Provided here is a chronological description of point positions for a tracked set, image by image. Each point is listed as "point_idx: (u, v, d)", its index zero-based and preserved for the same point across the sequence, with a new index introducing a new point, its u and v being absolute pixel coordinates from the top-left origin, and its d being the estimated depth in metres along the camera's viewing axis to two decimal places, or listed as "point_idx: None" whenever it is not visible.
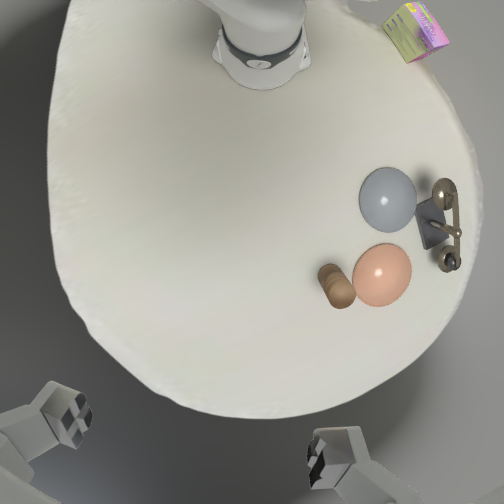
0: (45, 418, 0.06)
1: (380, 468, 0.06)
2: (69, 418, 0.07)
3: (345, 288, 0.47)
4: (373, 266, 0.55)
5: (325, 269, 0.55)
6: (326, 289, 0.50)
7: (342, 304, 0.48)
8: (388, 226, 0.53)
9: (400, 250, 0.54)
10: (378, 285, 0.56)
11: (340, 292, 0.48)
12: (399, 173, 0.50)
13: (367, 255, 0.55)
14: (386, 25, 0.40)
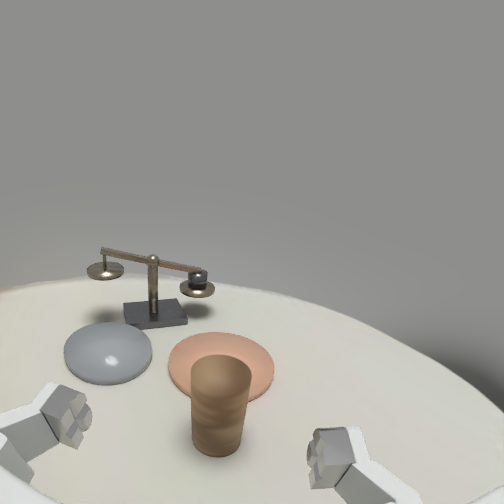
0: (45, 418, 0.06)
1: (380, 468, 0.06)
2: (69, 418, 0.07)
3: (204, 368, 0.22)
4: None
5: (195, 438, 0.23)
6: (214, 411, 0.20)
7: (241, 373, 0.22)
8: (140, 352, 0.35)
9: (181, 342, 0.38)
10: None
11: (212, 375, 0.21)
12: (78, 332, 0.35)
13: (180, 380, 0.31)
14: None
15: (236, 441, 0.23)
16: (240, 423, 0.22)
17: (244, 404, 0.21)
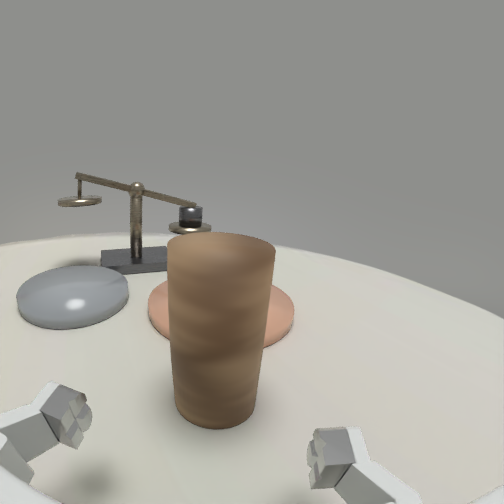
0: (45, 418, 0.06)
1: (380, 468, 0.06)
2: (69, 418, 0.07)
3: (191, 240, 0.13)
4: None
5: (178, 393, 0.14)
6: (209, 313, 0.12)
7: (256, 246, 0.14)
8: (112, 291, 0.26)
9: (167, 282, 0.30)
10: None
11: (205, 246, 0.13)
12: (41, 275, 0.26)
13: (162, 319, 0.22)
14: None
15: (249, 396, 0.14)
16: (257, 353, 0.13)
17: (264, 305, 0.13)
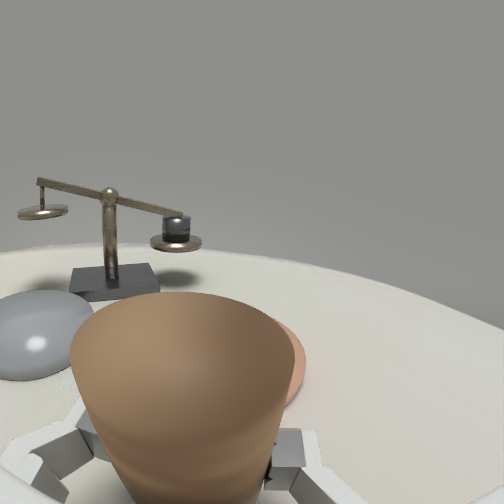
0: (81, 434, 0.06)
1: (332, 474, 0.06)
2: None
3: (124, 324, 0.06)
4: None
5: None
6: (158, 481, 0.04)
7: (254, 340, 0.06)
8: (73, 330, 0.19)
9: None
10: None
11: (144, 348, 0.05)
12: (0, 302, 0.19)
13: None
14: None
15: None
16: (254, 495, 0.06)
17: (268, 451, 0.06)
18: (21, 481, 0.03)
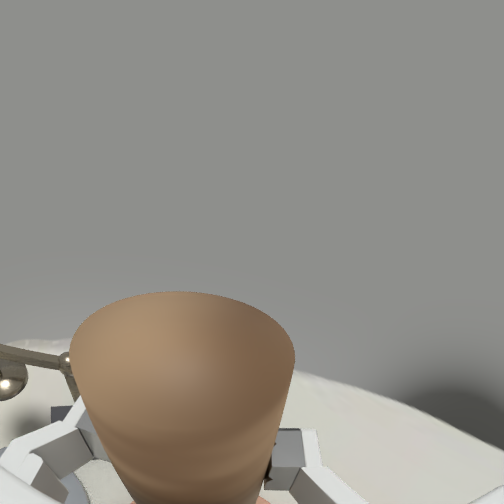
0: (81, 434, 0.06)
1: (333, 474, 0.06)
2: None
3: (124, 324, 0.06)
4: None
5: None
6: (158, 481, 0.04)
7: (254, 339, 0.06)
8: None
9: None
10: None
11: (144, 348, 0.05)
12: None
13: None
14: None
15: None
16: (254, 494, 0.06)
17: (268, 451, 0.06)
18: (21, 481, 0.03)
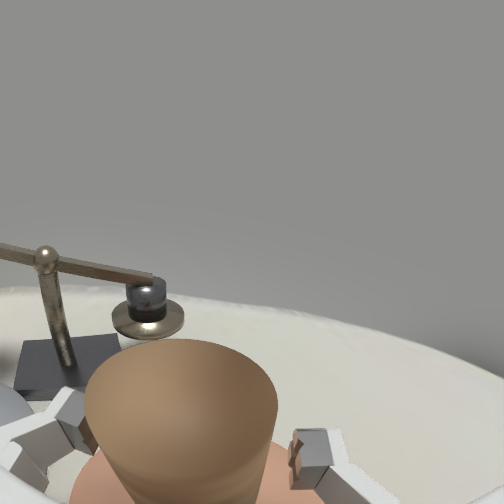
0: (60, 425, 0.06)
1: (359, 471, 0.06)
2: (86, 425, 0.07)
3: (128, 377, 0.07)
4: None
5: None
6: None
7: (243, 391, 0.07)
8: None
9: (102, 452, 0.12)
10: None
11: (147, 402, 0.06)
12: None
13: None
14: None
15: None
16: None
17: (257, 479, 0.06)
18: (21, 481, 0.03)
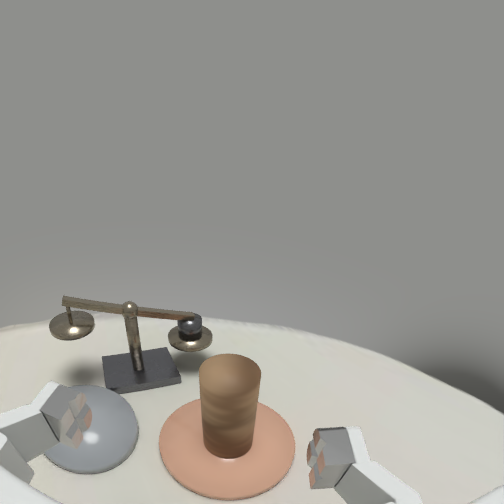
0: (45, 418, 0.06)
1: (380, 468, 0.06)
2: (69, 418, 0.07)
3: (212, 368, 0.22)
4: (201, 461, 0.21)
5: (207, 440, 0.22)
6: (225, 411, 0.20)
7: (250, 370, 0.22)
8: (123, 431, 0.23)
9: (173, 415, 0.27)
10: None
11: (221, 375, 0.21)
12: None
13: (176, 472, 0.20)
14: None
15: (248, 441, 0.23)
16: (251, 422, 0.22)
17: (255, 402, 0.21)
18: (21, 481, 0.03)
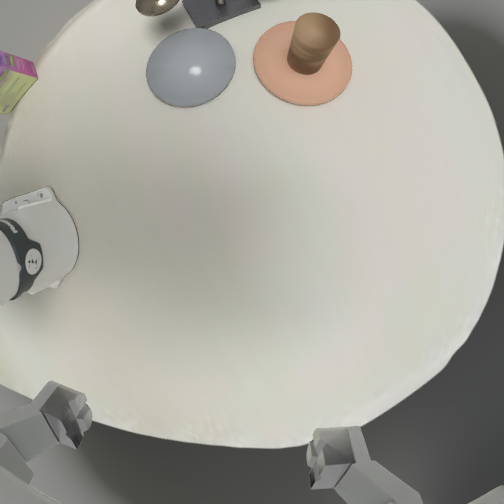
0: (45, 418, 0.06)
1: (380, 468, 0.06)
2: (69, 418, 0.07)
3: (304, 25, 0.23)
4: (287, 76, 0.33)
5: (292, 63, 0.31)
6: (312, 54, 0.26)
7: (332, 30, 0.23)
8: (225, 60, 0.33)
9: (261, 39, 0.32)
10: None
11: (311, 32, 0.23)
12: (152, 59, 0.33)
13: (270, 86, 0.34)
14: (4, 111, 0.33)
15: (321, 65, 0.31)
16: None
17: (332, 49, 0.25)
18: (21, 481, 0.03)
